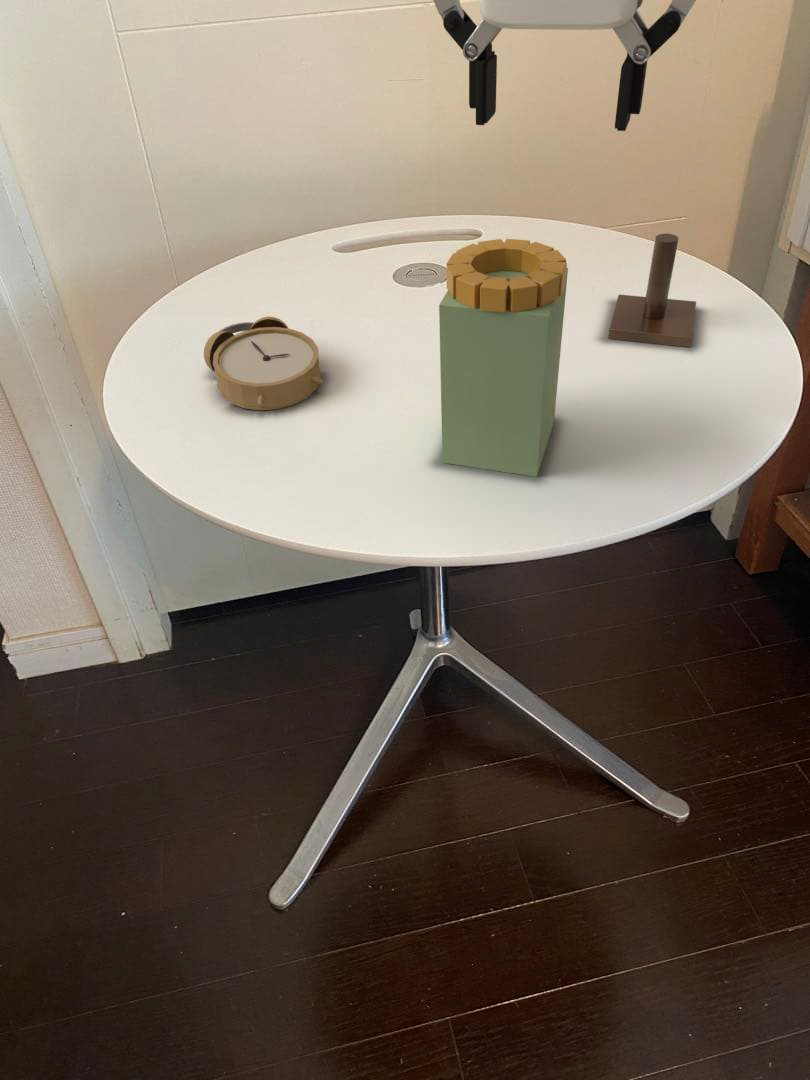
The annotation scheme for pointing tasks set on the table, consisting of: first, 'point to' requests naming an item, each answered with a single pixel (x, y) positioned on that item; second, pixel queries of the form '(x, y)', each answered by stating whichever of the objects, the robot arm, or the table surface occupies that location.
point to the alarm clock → (263, 364)
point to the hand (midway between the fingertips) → (552, 122)
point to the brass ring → (506, 292)
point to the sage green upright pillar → (499, 383)
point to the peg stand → (655, 305)
